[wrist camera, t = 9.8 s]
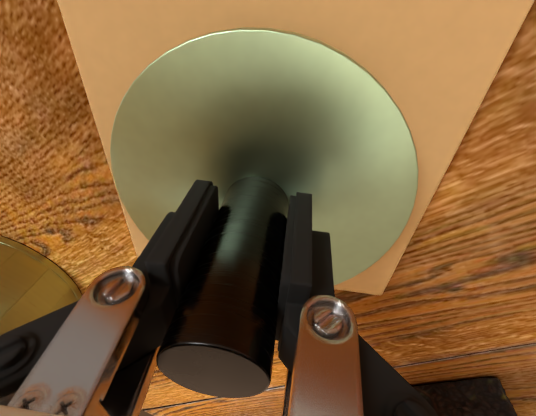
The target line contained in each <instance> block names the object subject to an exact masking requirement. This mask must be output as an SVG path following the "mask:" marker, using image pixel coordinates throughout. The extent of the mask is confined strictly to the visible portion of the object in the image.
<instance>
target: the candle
mask: <svg viewBox="0 0 536 416" xmlns="http://www.w3.org/2000/svg"><path fill="white" fill-rule="evenodd" d="M413 388H414V389H415V390H416V391H417V392H418V393H419V394H420V395H421V396H422V397H423V398H424V399H425V400H426V401H427V402H428V403H429V404H430V405H431V406H432V408H433V409H434V410H435V411H436V413H437V415H438V416H517V414H516V412H515V410H514V408H513V405H512V404H511V402H510V400H509V399H508V397H507V396H506V394H505V390H504V389H503V387H502V385H501V383H500V380H499V379H498V378H477V379H470V380H463V381H457V382H444V383H437V384H430V385H421V386H415V387H413Z"/></svg>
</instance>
